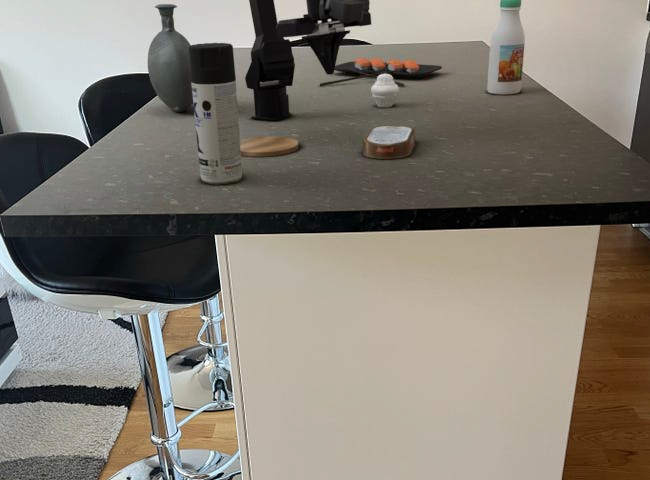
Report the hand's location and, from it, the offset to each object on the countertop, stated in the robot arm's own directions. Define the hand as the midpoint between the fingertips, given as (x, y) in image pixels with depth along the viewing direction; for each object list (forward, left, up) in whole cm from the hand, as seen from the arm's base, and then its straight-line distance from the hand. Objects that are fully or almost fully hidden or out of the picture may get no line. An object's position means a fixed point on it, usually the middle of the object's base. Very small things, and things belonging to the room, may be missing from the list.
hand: (330, 74), depth 142 cm
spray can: (-3, -33, -11) cm, 35 cm away
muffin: (-2, +30, -11) cm, 32 cm away
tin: (+10, -6, -10) cm, 15 cm away
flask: (-44, +10, -11) cm, 46 cm away
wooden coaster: (-7, -13, -11) cm, 18 cm away
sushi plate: (-20, +63, -11) cm, 67 cm away
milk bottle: (+18, +54, -11) cm, 58 cm away
